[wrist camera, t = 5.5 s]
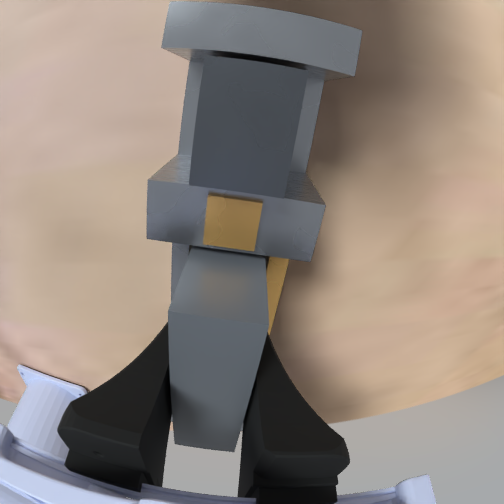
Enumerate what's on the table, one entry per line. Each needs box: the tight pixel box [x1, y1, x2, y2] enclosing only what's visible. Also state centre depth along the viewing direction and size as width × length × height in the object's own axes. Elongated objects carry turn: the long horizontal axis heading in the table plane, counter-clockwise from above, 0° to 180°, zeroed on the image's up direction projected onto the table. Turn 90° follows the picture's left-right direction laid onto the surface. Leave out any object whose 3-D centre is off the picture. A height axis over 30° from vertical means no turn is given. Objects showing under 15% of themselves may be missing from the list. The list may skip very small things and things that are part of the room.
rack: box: [147, 1, 362, 431], centre depth 13 cm, size 19×6×6 cm, turn 171°
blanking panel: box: [168, 245, 269, 452], centre depth 12 cm, size 8×2×7 cm, turn 171°
